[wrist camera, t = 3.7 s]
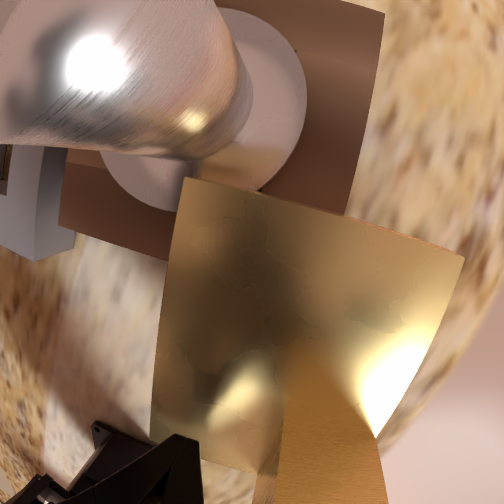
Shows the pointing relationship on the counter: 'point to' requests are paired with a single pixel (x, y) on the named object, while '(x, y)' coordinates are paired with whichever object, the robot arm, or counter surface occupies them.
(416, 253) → the brass key
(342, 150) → the walnut socket block
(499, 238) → the counter surface
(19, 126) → the steel pin
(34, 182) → the grey square collar
